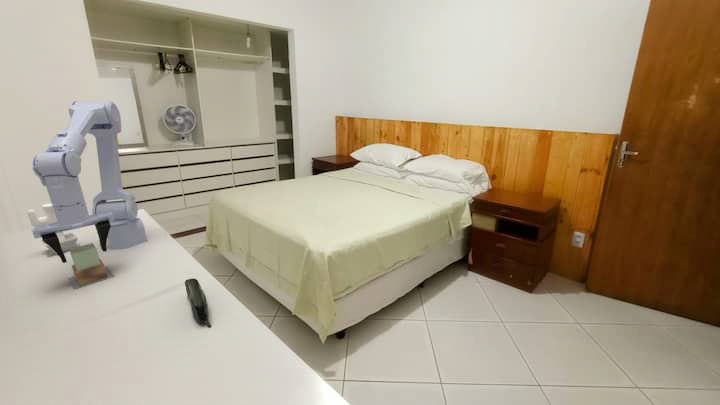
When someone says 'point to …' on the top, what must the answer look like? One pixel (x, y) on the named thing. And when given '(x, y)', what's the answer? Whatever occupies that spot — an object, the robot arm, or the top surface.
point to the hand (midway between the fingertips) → (85, 255)
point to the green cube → (85, 256)
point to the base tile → (76, 286)
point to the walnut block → (90, 274)
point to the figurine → (65, 240)
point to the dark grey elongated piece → (197, 301)
